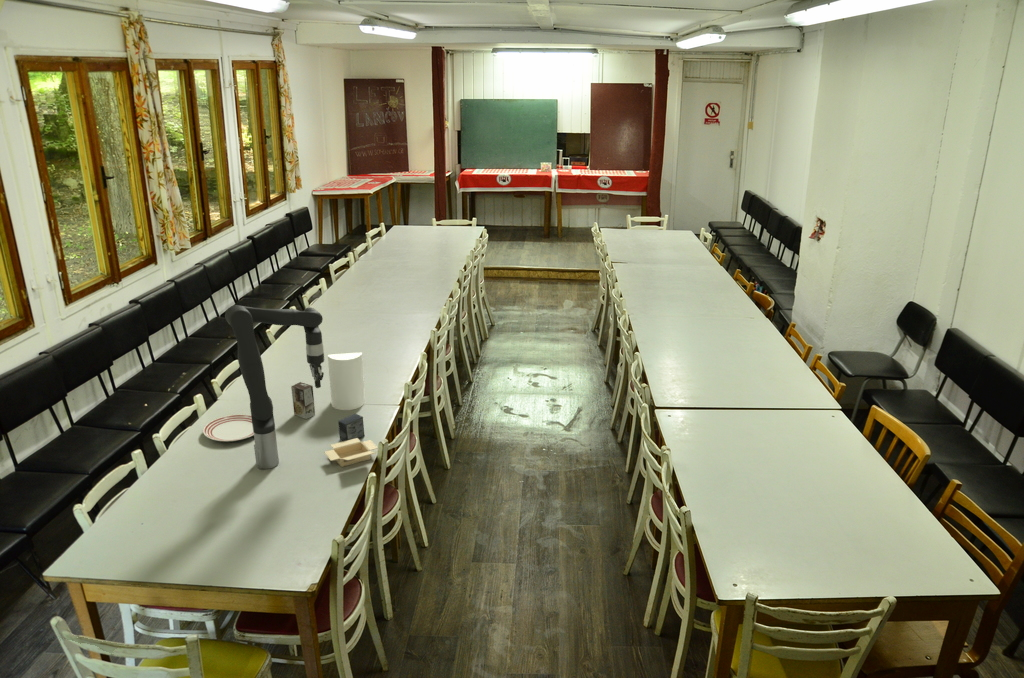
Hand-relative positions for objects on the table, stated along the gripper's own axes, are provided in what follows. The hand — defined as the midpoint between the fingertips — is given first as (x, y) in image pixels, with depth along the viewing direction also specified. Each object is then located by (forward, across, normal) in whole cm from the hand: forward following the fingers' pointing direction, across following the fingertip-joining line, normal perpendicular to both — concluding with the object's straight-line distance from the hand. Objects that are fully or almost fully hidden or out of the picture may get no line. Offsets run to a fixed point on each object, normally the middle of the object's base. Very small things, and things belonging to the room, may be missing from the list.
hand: (318, 387), depth 344 cm
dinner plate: (+32, -36, -32) cm, 58 cm away
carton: (+31, +14, +8) cm, 35 cm away
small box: (+31, -2, +15) cm, 35 cm away
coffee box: (+31, -37, +3) cm, 48 cm away
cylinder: (+31, -39, +27) cm, 57 cm away
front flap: (+27, +21, +8) cm, 35 cm away
